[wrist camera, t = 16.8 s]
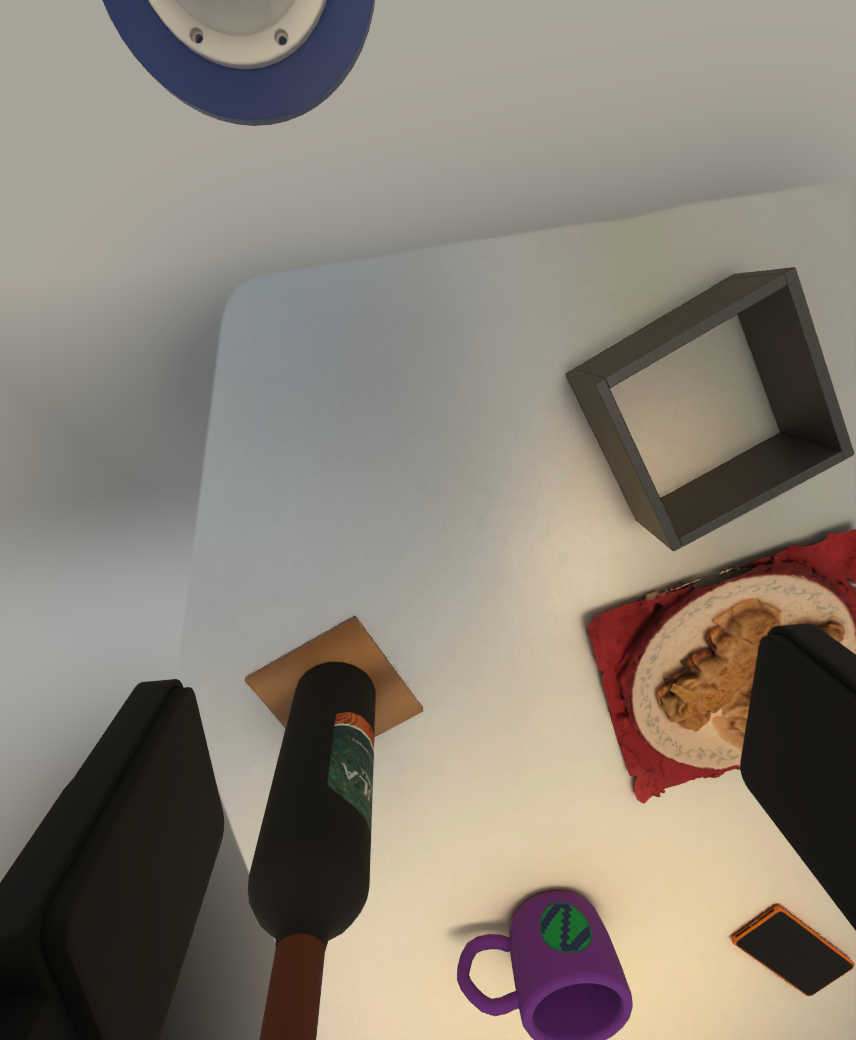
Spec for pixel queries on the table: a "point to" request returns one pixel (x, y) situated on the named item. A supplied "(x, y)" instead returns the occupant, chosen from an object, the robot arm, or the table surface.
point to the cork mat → (337, 646)
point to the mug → (556, 971)
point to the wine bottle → (315, 839)
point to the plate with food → (711, 657)
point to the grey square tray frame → (788, 383)
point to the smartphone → (792, 951)
